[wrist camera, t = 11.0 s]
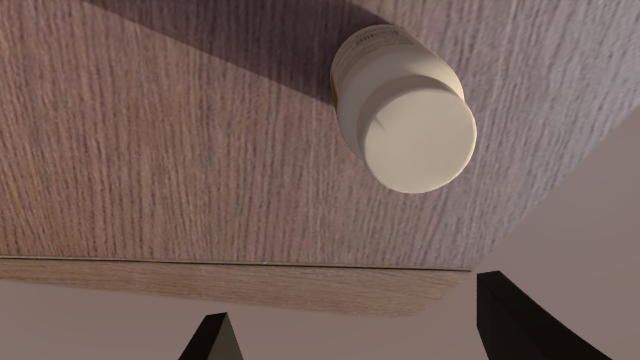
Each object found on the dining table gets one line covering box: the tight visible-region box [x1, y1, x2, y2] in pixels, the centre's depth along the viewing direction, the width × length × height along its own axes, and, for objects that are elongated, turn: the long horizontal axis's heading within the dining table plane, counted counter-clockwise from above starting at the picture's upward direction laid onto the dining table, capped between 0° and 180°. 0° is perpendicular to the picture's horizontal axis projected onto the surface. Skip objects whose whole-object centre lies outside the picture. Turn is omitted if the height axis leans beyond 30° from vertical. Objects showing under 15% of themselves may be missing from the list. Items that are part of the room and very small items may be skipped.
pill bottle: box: [330, 24, 476, 193], centre depth 17 cm, size 4×4×8 cm
